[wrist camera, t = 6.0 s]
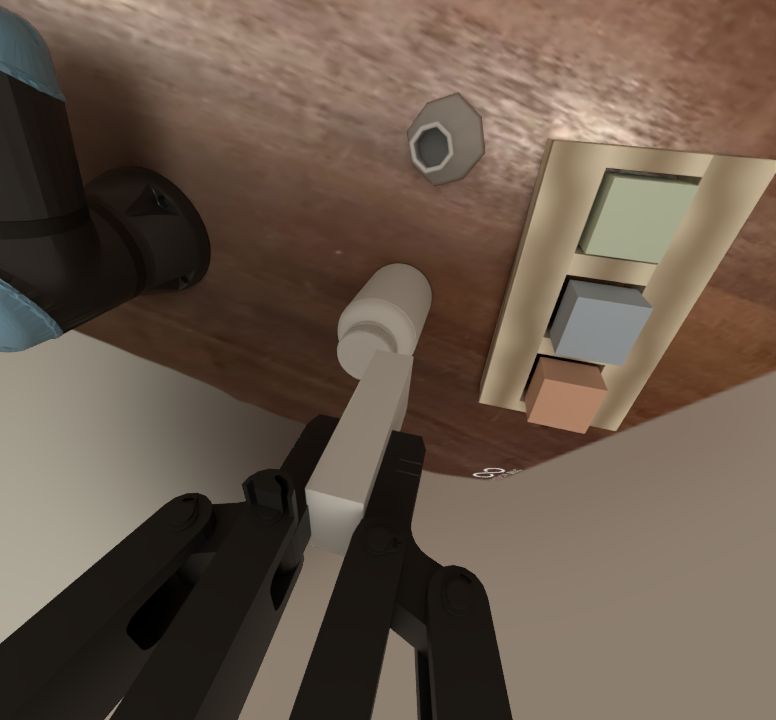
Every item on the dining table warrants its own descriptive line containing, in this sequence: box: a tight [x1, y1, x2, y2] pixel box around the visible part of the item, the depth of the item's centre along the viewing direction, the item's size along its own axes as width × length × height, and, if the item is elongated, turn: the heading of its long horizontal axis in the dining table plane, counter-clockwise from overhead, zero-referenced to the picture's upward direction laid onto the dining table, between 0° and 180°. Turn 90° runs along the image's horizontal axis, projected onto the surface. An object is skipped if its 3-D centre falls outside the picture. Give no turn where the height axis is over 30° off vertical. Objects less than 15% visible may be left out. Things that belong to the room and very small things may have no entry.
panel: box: [479, 139, 776, 431], centre depth 37 cm, size 16×28×4 cm, turn 176°
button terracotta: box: [525, 357, 608, 434], centre depth 39 cm, size 6×6×4 cm
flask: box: [407, 92, 485, 186], centre depth 30 cm, size 7×7×10 cm
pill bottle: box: [337, 263, 432, 380], centre depth 37 cm, size 8×8×15 cm
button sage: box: [578, 172, 700, 264], centre depth 31 cm, size 6×6×4 cm
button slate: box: [549, 280, 654, 366], centre depth 34 cm, size 6×6×4 cm
